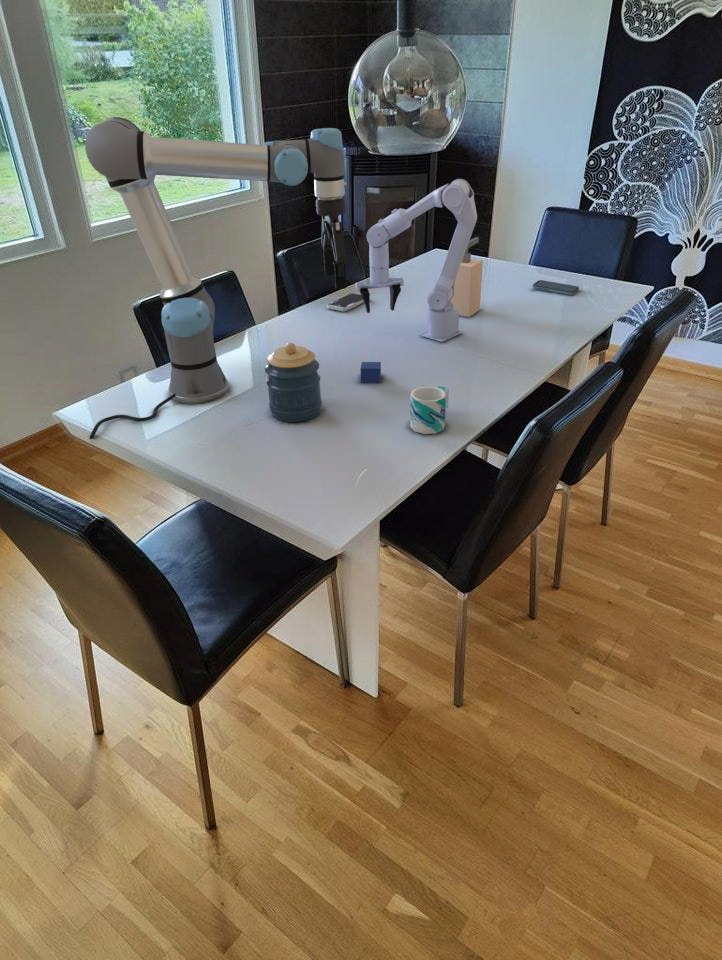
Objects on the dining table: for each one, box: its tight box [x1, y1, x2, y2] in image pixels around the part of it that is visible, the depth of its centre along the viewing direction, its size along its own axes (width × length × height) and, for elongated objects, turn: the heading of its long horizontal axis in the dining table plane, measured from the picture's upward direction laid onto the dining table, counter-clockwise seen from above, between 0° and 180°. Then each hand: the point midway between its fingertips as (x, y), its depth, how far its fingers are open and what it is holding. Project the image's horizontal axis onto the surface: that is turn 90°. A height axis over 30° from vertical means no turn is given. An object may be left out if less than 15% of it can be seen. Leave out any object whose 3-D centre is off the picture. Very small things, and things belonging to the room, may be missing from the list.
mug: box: [409, 385, 450, 435], centre depth 156 cm, size 8×12×8 cm
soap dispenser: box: [451, 236, 484, 318], centre depth 219 cm, size 13×9×22 cm
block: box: [360, 361, 382, 384], centre depth 180 cm, size 4×5×4 cm
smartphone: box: [326, 292, 364, 312], centre depth 233 cm, size 8×1×15 cm
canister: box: [264, 342, 323, 423], centre depth 161 cm, size 13×13×18 cm
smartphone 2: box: [531, 279, 580, 296], centre depth 239 cm, size 8×2×15 cm
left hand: (335, 281), depth 181 cm, fingers open, 13 cm apart
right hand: (380, 310), depth 207 cm, fingers open, 7 cm apart
